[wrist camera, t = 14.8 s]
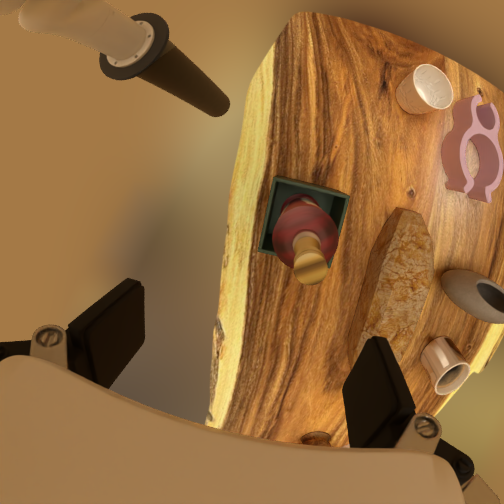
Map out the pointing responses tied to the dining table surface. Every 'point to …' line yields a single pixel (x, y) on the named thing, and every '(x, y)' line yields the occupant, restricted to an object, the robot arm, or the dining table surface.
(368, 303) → the bread
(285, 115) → the dining table surface
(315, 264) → the liquor
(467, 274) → the planter
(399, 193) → the dining table surface
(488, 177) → the clip
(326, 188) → the green square box
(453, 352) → the mug
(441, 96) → the white cup
